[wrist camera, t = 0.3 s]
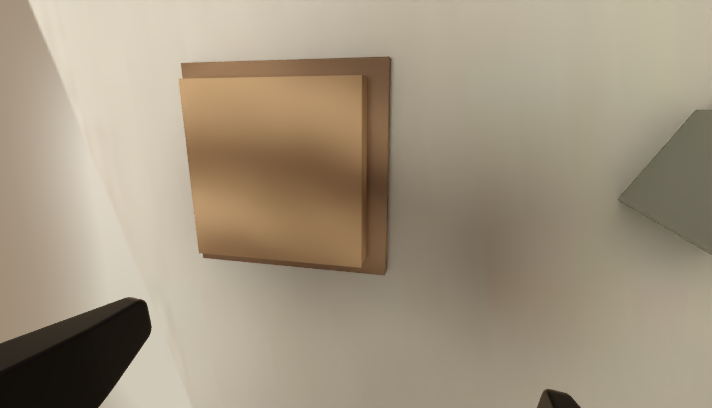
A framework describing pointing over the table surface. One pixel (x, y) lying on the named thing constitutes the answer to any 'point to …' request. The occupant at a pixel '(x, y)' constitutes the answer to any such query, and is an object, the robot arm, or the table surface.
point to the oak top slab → (279, 166)
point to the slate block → (680, 183)
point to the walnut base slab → (376, 138)
